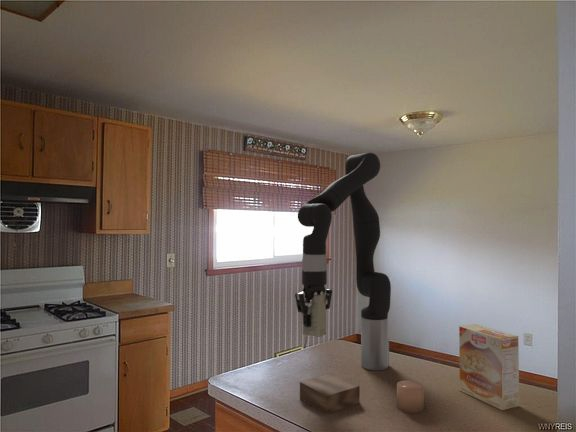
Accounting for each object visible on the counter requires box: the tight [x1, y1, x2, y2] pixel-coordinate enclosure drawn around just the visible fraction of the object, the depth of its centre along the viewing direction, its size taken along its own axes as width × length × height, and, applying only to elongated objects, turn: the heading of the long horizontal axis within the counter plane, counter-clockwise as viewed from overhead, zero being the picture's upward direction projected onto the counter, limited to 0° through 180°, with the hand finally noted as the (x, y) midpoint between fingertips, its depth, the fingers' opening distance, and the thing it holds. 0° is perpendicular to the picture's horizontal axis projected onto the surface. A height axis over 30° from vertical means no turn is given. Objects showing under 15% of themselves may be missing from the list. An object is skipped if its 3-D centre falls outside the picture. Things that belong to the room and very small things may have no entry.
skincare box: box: [301, 294, 327, 338], centre depth 125 cm, size 6×4×12 cm
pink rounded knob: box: [396, 380, 425, 414], centre depth 113 cm, size 7×7×6 cm
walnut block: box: [299, 372, 361, 414], centre depth 117 cm, size 12×12×5 cm
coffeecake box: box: [458, 323, 520, 411], centre depth 119 cm, size 15×7×20 cm, turn 23°
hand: (314, 324), depth 125 cm, fingers closed on skincare box, 5 cm apart
